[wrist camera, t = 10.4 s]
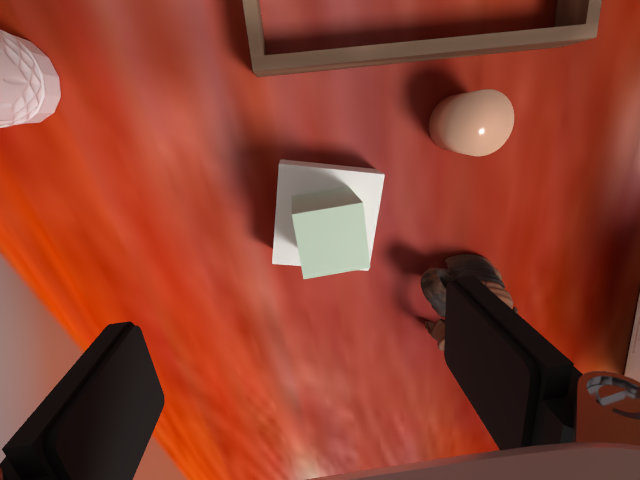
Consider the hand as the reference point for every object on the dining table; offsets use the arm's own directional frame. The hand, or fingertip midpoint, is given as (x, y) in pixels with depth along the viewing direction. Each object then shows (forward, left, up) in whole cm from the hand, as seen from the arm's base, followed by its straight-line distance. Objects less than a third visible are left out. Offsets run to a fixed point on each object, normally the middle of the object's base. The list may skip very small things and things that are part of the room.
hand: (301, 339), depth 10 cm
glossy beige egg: (-5, +15, -24) cm, 29 cm away
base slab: (+2, +2, -24) cm, 24 cm away
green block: (+2, +2, -20) cm, 20 cm away
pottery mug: (+13, +15, -24) cm, 31 cm away
